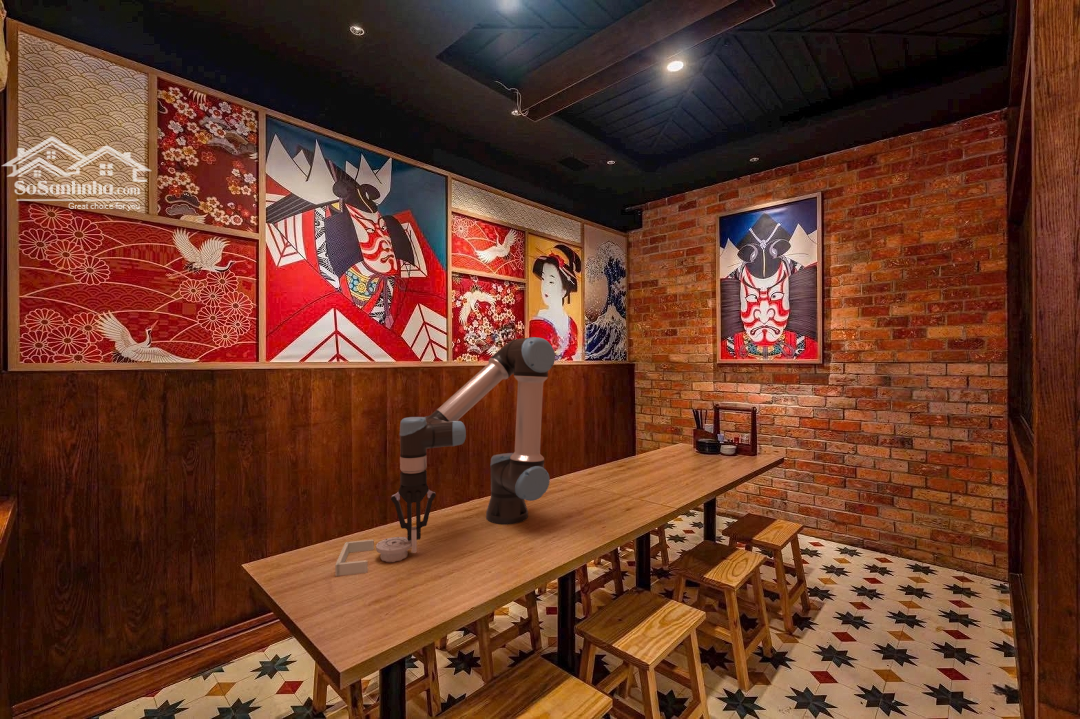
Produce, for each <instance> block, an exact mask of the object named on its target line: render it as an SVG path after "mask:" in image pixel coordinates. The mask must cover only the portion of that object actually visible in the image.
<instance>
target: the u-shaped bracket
mask: <svg viewBox="0 0 1080 719" xmlns="http://www.w3.org/2000/svg"><path fill="white" fill-rule="evenodd" d="M374 541H375V540H374V539H373V538H372V539H365V540H364V539H363V540H354V541H353V540H352V541H346V542H345V543H344V544H343V546H342V549H341V550H340V551H341V552H340V554H339V556H338V558H337V560H336V563H335V565H334V567H335V570H334V573H335V574H334V575H335V577H340V576H341V577H342V576H351V575H358V574H366V573H367V574H368V571H369V569H368V566H369V564H368V561H369V560H368V559H367V560H365V559H364V560H356V561H355V560H354V561H347V558H348V555H349V553H351V554H352V553H358V552H359V553H361V552H369V551H374V549H375V543H374Z"/></svg>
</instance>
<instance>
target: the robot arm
mask: <svg viewBox="0 0 1080 719" xmlns="http://www.w3.org/2000/svg"><path fill="white" fill-rule="evenodd" d="M555 362H556V353H555V349H554V347H553V346H552V345H551V343H550V342H549V341H548V340H547V339H545V338H542V337H538V336H537V337H535V336H530V337H526V338H525V337H524V338H514V339H513V340H511V341H508V342H507V343H506V344H504V345H503V346H502V347H501V348H500V349H499V350H497V351H496V352H495V353H494V354H493V355H492V356H491V357H490V358H489V359H488V363H487V364H486V365H485V366H484V367H483V368H482V369H481V370H479V372H477V373H476V374H475V375H474V376H473V377H471V379H469V380H468V381H467V382H466V383H465V384H464V385H462V387H460V388H459V389H458V390H457V391H456V392H455V393H454V394H453V395H451V396H450V397H449V398H448V399H447V400H446V401H445V402H443V404H442V405H441V406H440V407H438V408H437V409H436V410H434V411H433V412H432V413H431V414H430V415H427V416H409V417H404V418H402V419H401V420H400V422H399V423H400V424H399V434H398V435H399V450H400V451H399V454H400V455H399V470H400V473H399V475H400V476H399V480H400V481H399V483H400V485H399V488H398V491H397V492H396V493H395V494H393V493H392V494H391V497H390V500H391V502H392V503H393V504H394V507H395V511H396V515H397V518H398V521H399V526H400V528H401V529H405V530H406V531H407V532H406V533H407V536H406V538H407V539H408V541H410V540H412V547H411V553H417V551H418V549H417V548H418V546H417V545H418V544H417V543H418V540H421V539H422V538H421V535H422V534H421V533H422V532H421V529H422V528H423V527H424V528H425V527H426V526H427V525H428V521H429V517H430V514H431V508H432V504H433V501H434V500H435V498H436V496H437V494H436V493H437V492H436V491H434V490H433V491H432V490H431V489H429V486H428V483H427V481H428V480H427V478H428V476H427V474H428V472H427V468H428V466H427V462H428V461H427V459H428V458H427V451H428V450H427V449H435V448H443V447H455V446H460V445H461V446H462V445H463V444H464V443H465V440H466V438H467V430H466V429H467V428H466V426H465V424H464V422H462V421H461V420H460V419H461V418H462V417H463V416H464V415H466V413H468V411H470V410H471V409H472V408H473V407H474V406H475V405H476V404H478V402H480V401H481V400H482V399H483V398H484V397H485V396H486V395H488V393H489V392H490V391H491V390H493V389H494V388H495V387H496V386H497V385H498V384H499V383H500V382H501V381H502V380H508V379H509V378H510V377H511V376H512V375H513V377H514V378H515V380H516V381H517V393H516V394H517V395H516V416H515V417H516V418H515V420H516V421H515V435H514V436H515V439H514V440H515V441H514V452H507V453H500V454H499V453H498V454H493V455H492V456H491V458H490V465H489V467H490V499H489V502H488V505H487V509H486V511H485V512H486V513H485V515H486V516H485V518H486V520H487V521H488V522H489V523H492V524H496V525H497V524H498V525H514V524H520V523H522V522H524V521H526V520H527V519H528V517H529V510H528V507H527V504H526V501H530V502H531V501H532V502H533V501H537V500H539V499H541V498H542V497H543V496H544V494H545V493H547V491H548V489H549V486H550V481H551V480H550V474H549V472H548V471H547V469H546V468H545V458H544V456H543V455H542V453H541V439H542V438H541V436H542V420H543V419H542V414H543V395H544V394H543V393H544V382H545V381H546V380H547V379H548V378H549V370H551V369H552V368H553V366H554V365H555ZM426 495H427V503H426V507H425V510H424V513H423V518H421V502H422V500H424V498H425V497H426ZM401 498H402V499H403V501H405V503H406V521H407V522H406V521H405V517H404V513H403V510H402V509H403V508H402V506H401V502H400V500H401ZM412 503H415V510H416V511H415V516H416V517H415V522H416V523H415V525H416V526H413V525H412V524H413V522H412V521H413V520H412V519H413V517H412V515H413V513H412V511H413V510H412V509H413V508H412ZM421 519H422V521H421Z"/></svg>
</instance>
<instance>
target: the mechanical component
mask: <svg viewBox="0 0 1080 719" xmlns="http://www.w3.org/2000/svg"><path fill="white" fill-rule="evenodd" d="M411 549H412V540H410V541H408V539H407V536H406V537H405V536H395V537H388V538H385V539H383V540H380V541H378V542H377V543H376V545H375V551H376V552H377V553H379V554H380V559H381V561H382V562H386V563H396V562H400V561H402V560H404V559H406V558H407V557H408V555H409V554H408V553H409V552H408V550H411Z"/></svg>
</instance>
